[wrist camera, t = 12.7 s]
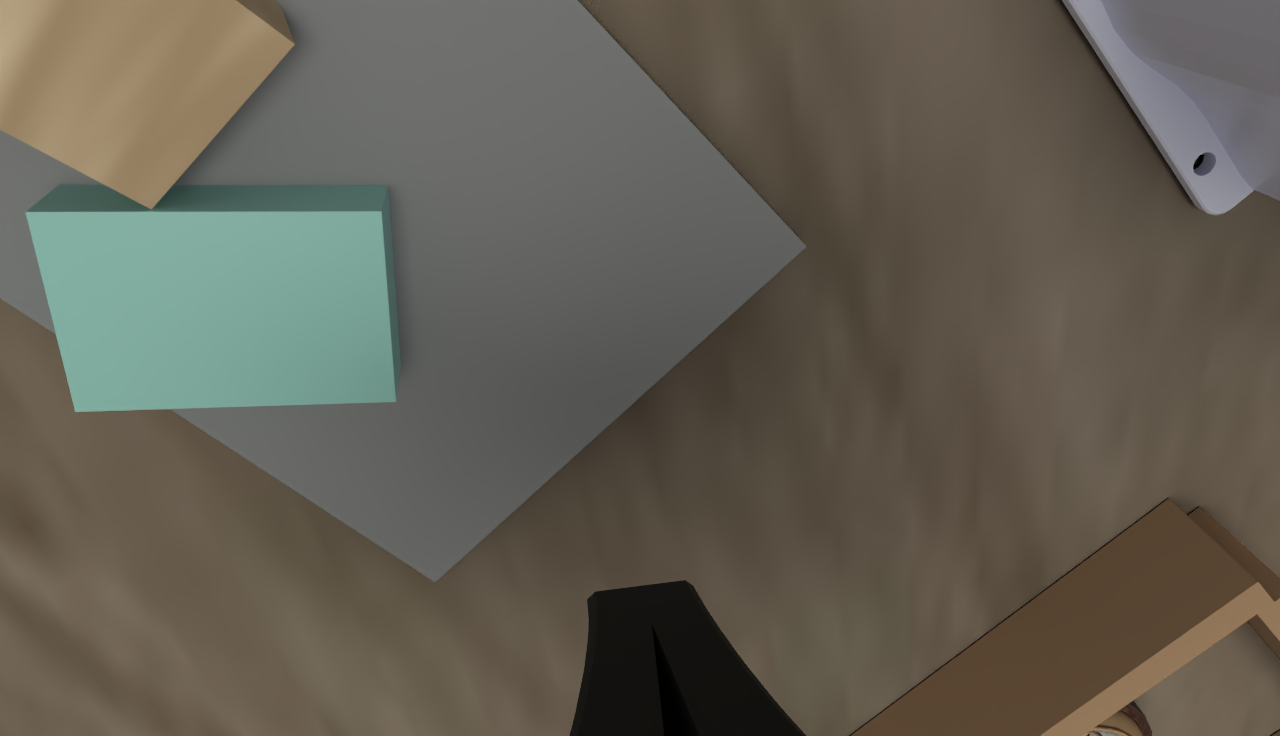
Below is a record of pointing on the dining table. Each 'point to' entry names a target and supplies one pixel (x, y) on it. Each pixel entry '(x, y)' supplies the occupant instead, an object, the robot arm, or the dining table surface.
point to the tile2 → (132, 81)
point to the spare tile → (221, 295)
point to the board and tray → (592, 323)
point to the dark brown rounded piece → (1123, 723)
